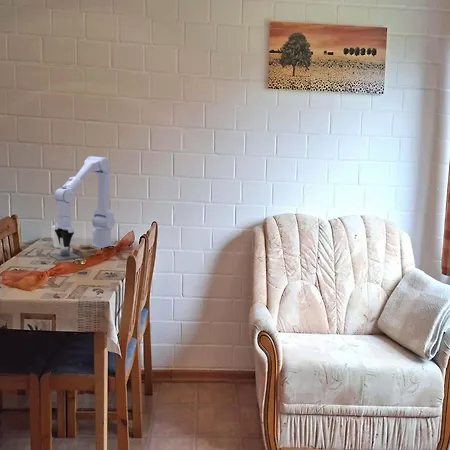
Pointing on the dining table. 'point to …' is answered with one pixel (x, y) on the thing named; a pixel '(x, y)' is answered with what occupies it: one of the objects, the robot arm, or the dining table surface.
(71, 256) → the slate mat
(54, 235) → the white cup
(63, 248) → the steel peg
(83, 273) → the dining table surface
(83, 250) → the socket block
